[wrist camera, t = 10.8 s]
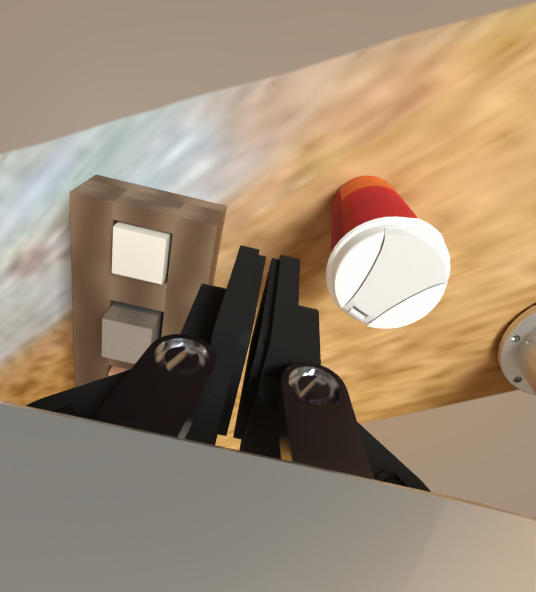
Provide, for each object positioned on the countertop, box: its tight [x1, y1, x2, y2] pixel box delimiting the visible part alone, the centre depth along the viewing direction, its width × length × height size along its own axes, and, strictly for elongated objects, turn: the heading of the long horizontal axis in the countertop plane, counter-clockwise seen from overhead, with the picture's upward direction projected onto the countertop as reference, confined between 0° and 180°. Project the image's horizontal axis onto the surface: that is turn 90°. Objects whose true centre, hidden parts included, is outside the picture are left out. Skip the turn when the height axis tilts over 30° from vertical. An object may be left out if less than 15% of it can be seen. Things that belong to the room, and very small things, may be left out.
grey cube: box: [102, 301, 164, 364], centre depth 40 cm, size 4×4×4 cm
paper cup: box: [326, 176, 450, 329], centre depth 32 cm, size 8×8×14 cm
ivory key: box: [112, 221, 173, 284], centre depth 38 cm, size 4×4×4 cm
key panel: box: [70, 175, 227, 387], centre depth 43 cm, size 12×24×5 cm, turn 168°
